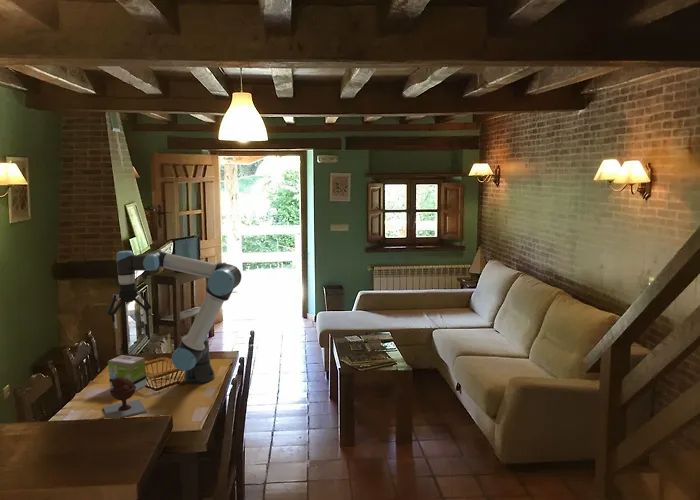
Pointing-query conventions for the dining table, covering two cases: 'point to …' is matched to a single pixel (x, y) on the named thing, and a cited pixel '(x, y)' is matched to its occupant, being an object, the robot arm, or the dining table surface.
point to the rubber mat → (115, 413)
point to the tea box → (128, 370)
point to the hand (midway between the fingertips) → (130, 325)
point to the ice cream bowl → (122, 391)
